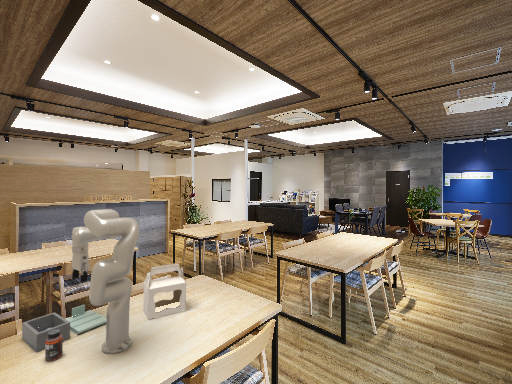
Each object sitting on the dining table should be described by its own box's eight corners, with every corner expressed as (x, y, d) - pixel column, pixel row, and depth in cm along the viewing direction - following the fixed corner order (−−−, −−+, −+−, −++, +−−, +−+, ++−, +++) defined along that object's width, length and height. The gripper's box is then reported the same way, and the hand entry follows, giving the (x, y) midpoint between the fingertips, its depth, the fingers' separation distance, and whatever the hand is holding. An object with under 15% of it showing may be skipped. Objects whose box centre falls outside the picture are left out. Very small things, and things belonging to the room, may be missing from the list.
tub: (69, 338, 125) (70, 322, 125) (36, 352, 114) (36, 334, 114) (54, 327, 135) (54, 312, 135) (22, 339, 124) (22, 322, 124)
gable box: (147, 320, 145) (148, 270, 144) (142, 311, 155) (143, 264, 155) (186, 310, 157) (187, 264, 157) (179, 302, 168) (180, 259, 168)
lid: (108, 323, 141) (109, 310, 141) (78, 336, 128) (78, 321, 128) (90, 313, 151) (91, 301, 151) (61, 324, 139) (61, 310, 139)
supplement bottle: (60, 351, 116) (60, 326, 116) (64, 356, 112) (64, 331, 112) (43, 357, 111) (43, 331, 111) (46, 363, 107) (47, 337, 107)
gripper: (95, 250, 142) (94, 281, 142) (80, 246, 151) (79, 275, 151) (80, 252, 136) (79, 285, 136) (65, 248, 145) (65, 278, 145)
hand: (79, 279), depth 144 cm, fingers open, 9 cm apart
